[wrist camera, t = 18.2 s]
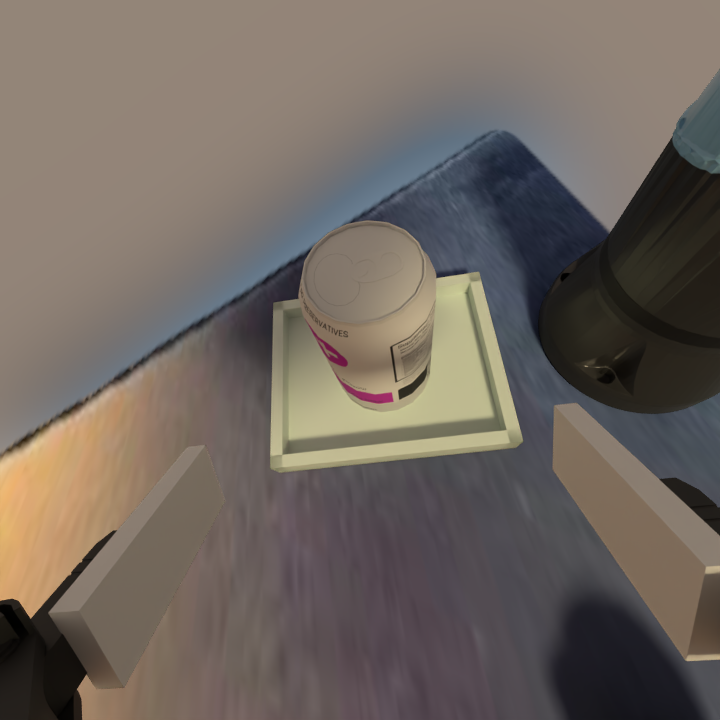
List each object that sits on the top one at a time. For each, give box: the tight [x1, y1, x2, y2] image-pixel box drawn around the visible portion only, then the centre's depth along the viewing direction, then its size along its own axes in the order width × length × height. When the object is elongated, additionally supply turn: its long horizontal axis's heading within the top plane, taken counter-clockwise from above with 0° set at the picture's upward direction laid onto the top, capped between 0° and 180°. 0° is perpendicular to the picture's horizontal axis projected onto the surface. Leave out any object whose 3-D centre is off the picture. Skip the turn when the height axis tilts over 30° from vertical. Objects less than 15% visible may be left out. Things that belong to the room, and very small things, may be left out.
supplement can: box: [298, 220, 436, 412], centre depth 28 cm, size 8×8×15 cm
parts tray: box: [270, 272, 523, 473], centre depth 34 cm, size 20×16×2 cm
